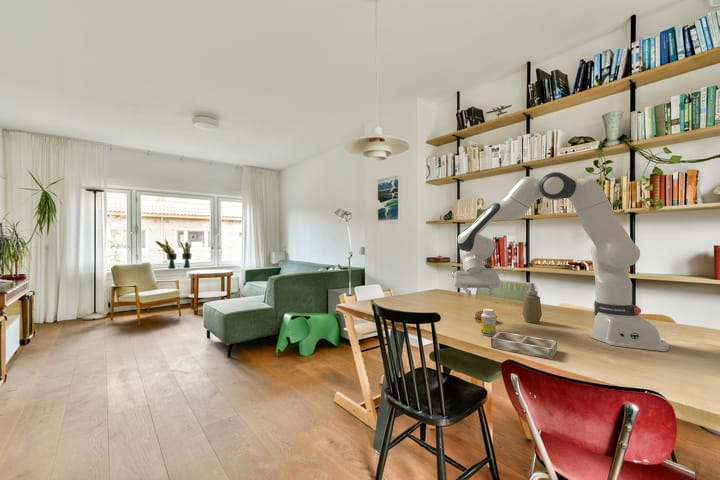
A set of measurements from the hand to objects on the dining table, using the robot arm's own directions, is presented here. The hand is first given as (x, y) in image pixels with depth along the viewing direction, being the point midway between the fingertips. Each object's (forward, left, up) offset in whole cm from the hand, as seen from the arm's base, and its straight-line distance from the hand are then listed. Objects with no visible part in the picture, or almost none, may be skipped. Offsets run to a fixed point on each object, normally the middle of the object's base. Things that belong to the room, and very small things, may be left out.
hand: (480, 294), depth 143 cm
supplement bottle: (-6, +9, -15) cm, 18 cm away
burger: (+1, -11, -15) cm, 18 cm away
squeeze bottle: (-16, -23, -15) cm, 32 cm away
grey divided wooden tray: (-21, +19, -14) cm, 32 cm away
